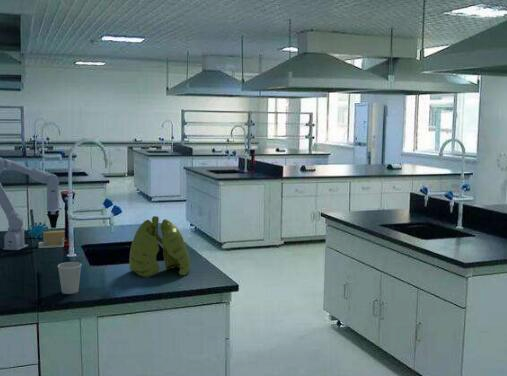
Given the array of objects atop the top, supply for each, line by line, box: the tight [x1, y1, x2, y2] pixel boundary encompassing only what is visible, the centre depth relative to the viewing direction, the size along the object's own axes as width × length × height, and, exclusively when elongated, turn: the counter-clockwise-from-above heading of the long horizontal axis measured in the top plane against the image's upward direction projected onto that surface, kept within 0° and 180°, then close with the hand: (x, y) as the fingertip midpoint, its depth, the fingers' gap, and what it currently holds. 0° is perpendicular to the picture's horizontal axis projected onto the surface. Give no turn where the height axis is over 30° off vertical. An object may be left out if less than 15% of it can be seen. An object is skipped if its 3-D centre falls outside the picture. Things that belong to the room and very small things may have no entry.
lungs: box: [128, 215, 192, 278], centre depth 229 cm, size 25×16×24 cm, turn 103°
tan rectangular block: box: [42, 229, 66, 245], centre depth 273 cm, size 10×4×6 cm, turn 110°
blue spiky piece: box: [27, 222, 52, 240], centre depth 292 cm, size 11×6×10 cm
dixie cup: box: [57, 261, 83, 295], centre depth 202 cm, size 8×8×10 cm
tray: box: [37, 238, 65, 249], centre depth 274 cm, size 14×10×4 cm
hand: (53, 226), depth 273 cm, fingers open, 7 cm apart
